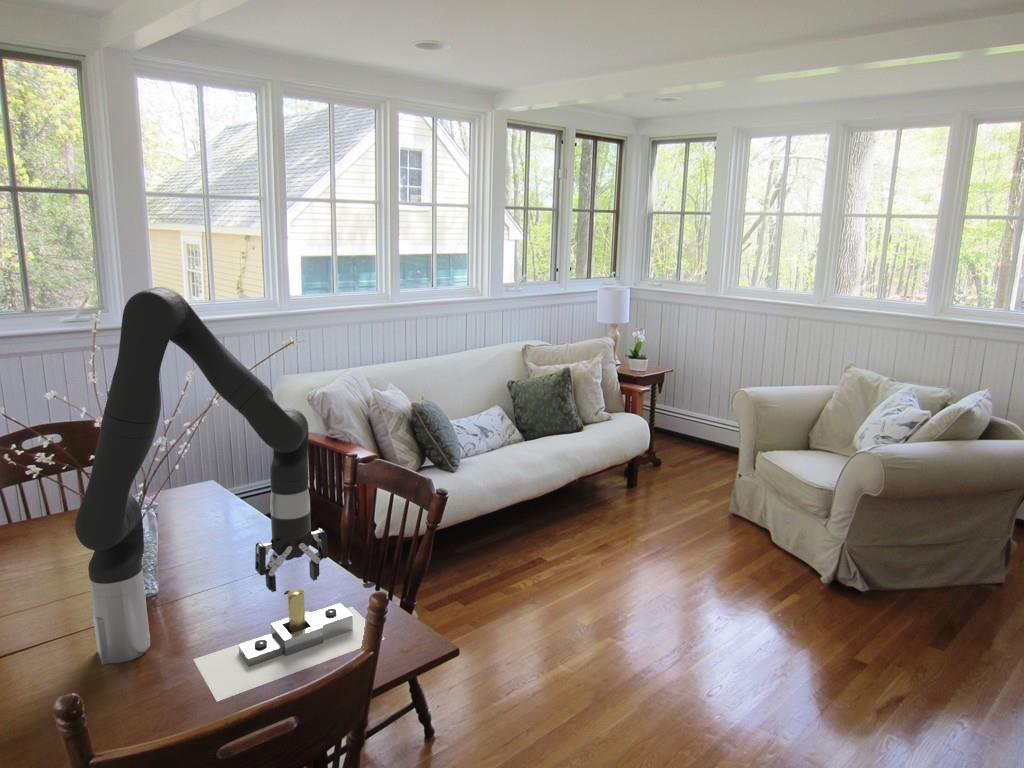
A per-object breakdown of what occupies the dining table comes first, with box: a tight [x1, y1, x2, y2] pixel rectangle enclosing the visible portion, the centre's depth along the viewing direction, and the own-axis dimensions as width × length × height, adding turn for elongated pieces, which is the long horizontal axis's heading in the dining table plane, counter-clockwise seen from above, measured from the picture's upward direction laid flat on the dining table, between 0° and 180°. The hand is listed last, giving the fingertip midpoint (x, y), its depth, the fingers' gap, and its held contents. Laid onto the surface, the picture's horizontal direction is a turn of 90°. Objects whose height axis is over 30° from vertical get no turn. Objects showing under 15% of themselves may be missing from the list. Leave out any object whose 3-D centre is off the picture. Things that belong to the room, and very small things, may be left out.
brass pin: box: [287, 588, 306, 634], centre depth 149 cm, size 3×3×11 cm
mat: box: [192, 606, 386, 703], centre depth 148 cm, size 34×16×1 cm, turn 127°
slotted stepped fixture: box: [237, 602, 353, 667], centre depth 150 cm, size 22×8×4 cm, turn 127°
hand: (293, 584), depth 148 cm, fingers open, 8 cm apart
